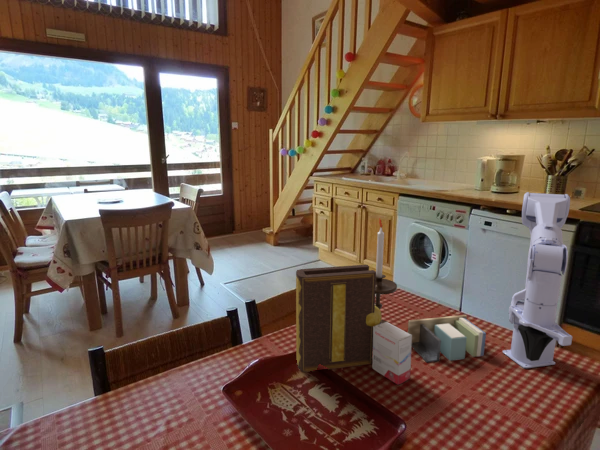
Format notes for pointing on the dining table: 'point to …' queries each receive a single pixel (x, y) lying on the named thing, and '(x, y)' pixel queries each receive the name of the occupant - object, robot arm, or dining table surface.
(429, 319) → the shelf wall
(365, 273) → the book
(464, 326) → the book row
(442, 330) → the boxed book
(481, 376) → the dining table surface
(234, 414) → the dining table surface
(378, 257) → the candlestick
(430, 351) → the bookend
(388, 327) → the ink box
